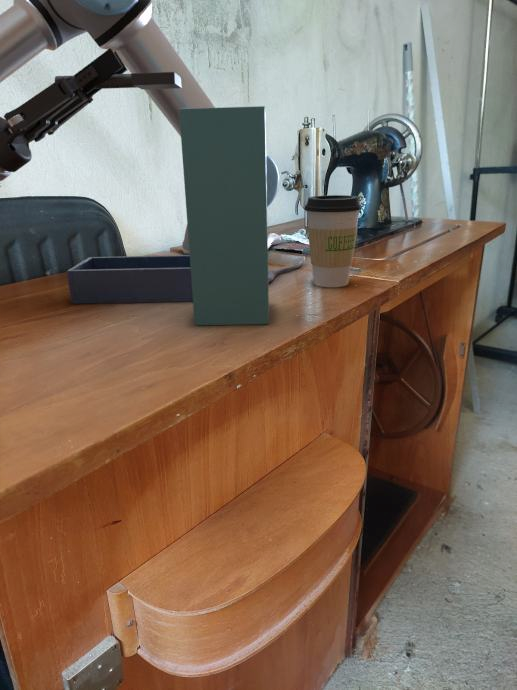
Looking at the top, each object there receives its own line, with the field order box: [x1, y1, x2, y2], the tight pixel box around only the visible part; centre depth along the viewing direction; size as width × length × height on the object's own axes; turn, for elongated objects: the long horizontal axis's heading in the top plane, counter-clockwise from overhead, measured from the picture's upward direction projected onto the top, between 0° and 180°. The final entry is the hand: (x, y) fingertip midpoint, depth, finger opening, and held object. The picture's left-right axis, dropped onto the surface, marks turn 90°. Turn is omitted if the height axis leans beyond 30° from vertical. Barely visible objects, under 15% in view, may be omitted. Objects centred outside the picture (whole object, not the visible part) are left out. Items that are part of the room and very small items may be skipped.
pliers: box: [268, 259, 303, 284], centre depth 102 cm, size 10×1×20 cm
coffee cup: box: [304, 194, 363, 288], centre depth 91 cm, size 10×10×15 cm
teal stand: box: [179, 105, 270, 326], centre depth 72 cm, size 10×9×28 cm
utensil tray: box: [66, 254, 193, 305], centre depth 89 cm, size 23×11×6 cm, turn 89°
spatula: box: [268, 232, 282, 249], centre depth 121 cm, size 28×4×3 cm, turn 173°
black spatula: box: [54, 72, 182, 90], centre depth 74 cm, size 18×6×2 cm, turn 89°
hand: (118, 59), depth 73 cm, fingers closed on black spatula, 2 cm apart
